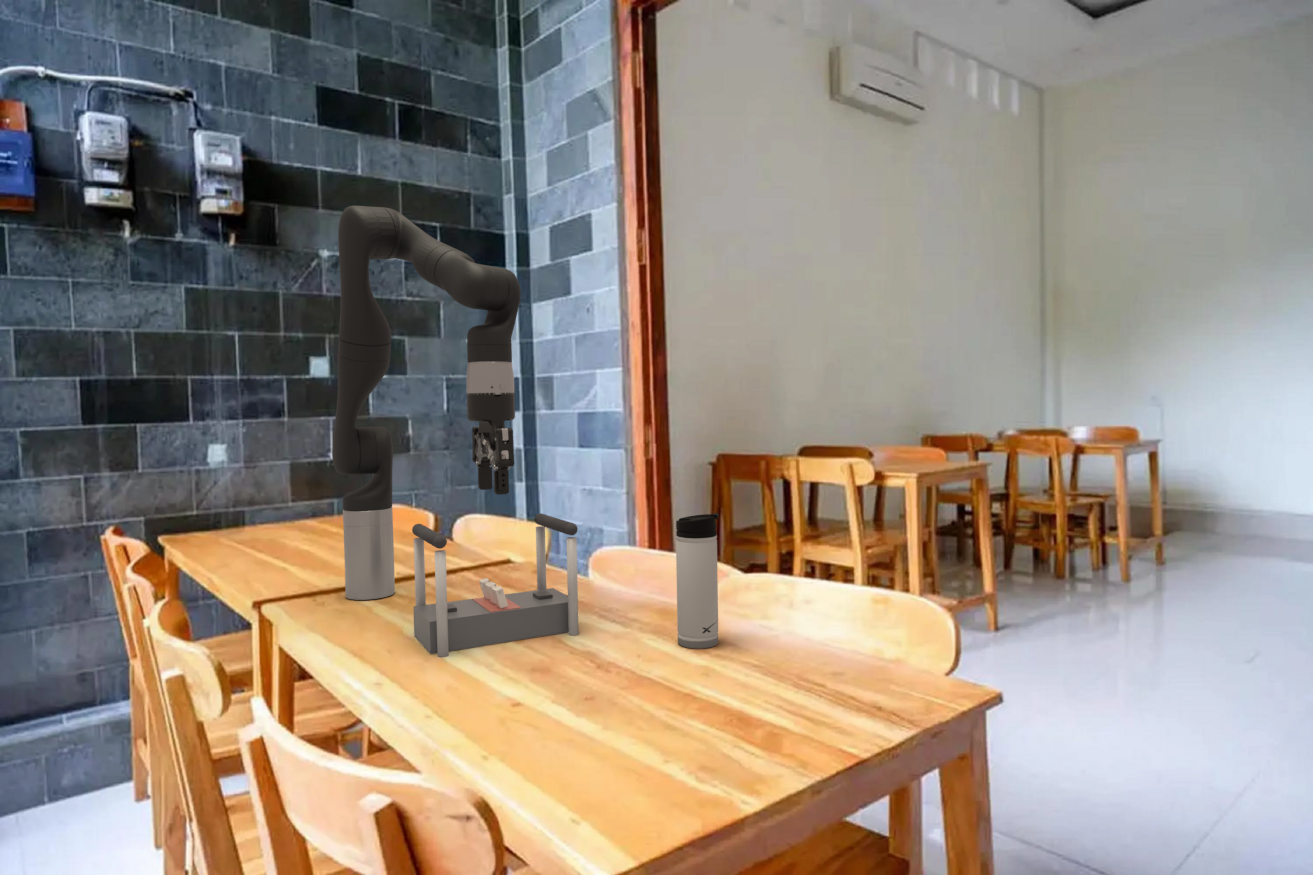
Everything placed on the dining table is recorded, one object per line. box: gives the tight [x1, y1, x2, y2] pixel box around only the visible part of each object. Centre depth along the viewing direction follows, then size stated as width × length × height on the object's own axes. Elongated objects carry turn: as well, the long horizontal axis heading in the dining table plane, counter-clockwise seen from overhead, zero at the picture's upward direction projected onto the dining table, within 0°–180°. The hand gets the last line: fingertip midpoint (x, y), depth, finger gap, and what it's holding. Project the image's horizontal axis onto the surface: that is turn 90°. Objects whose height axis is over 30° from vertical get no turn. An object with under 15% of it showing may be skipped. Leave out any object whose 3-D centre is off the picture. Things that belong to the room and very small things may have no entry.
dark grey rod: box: [534, 513, 578, 536], centre depth 137 cm, size 16×2×2 cm, turn 29°
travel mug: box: [675, 512, 720, 650], centre depth 125 cm, size 6×7×20 cm
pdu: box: [412, 525, 580, 658], centre depth 132 cm, size 16×24×16 cm, turn 119°
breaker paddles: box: [478, 577, 508, 608], centre depth 132 cm, size 9×1×3 cm, turn 29°
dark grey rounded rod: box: [411, 523, 448, 550], centre depth 127 cm, size 16×2×2 cm, turn 29°
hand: (493, 491), depth 132 cm, fingers open, 8 cm apart
